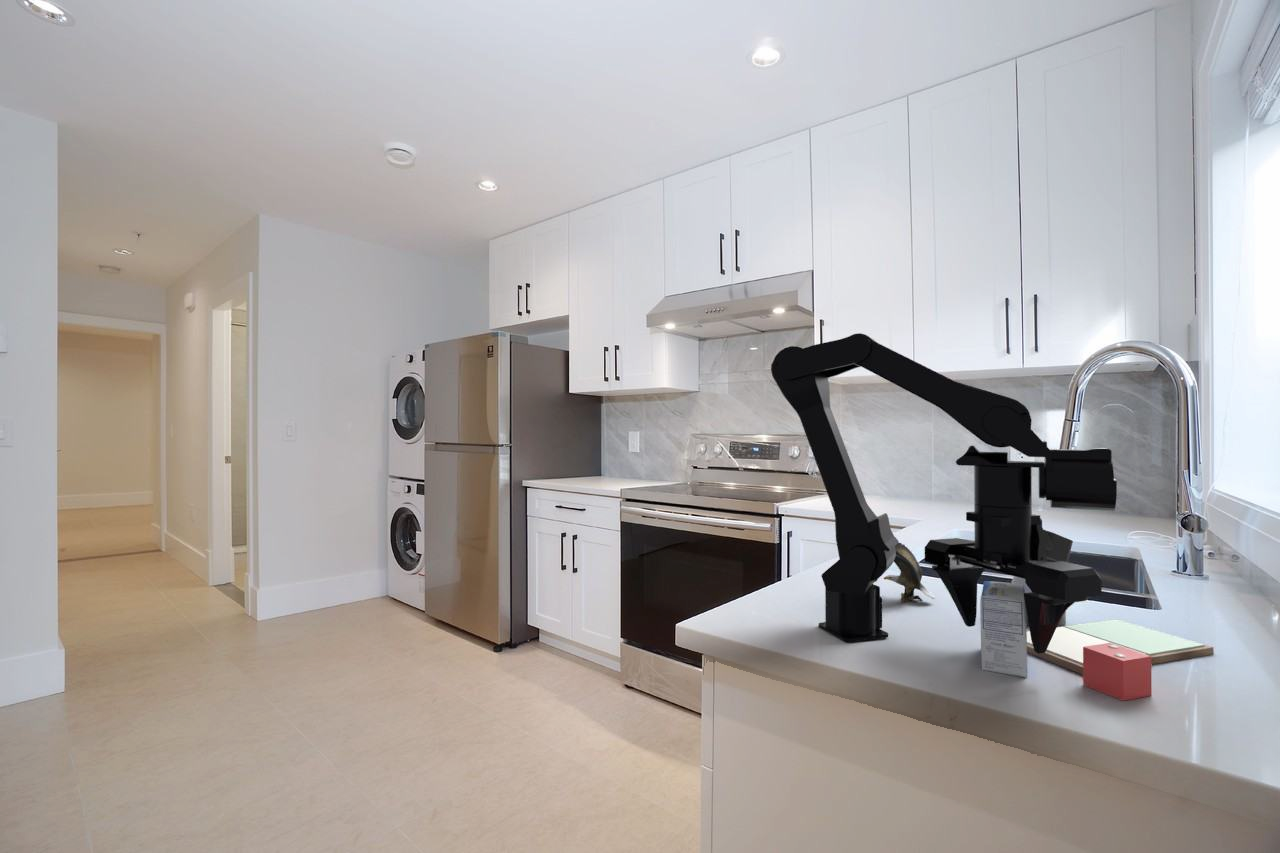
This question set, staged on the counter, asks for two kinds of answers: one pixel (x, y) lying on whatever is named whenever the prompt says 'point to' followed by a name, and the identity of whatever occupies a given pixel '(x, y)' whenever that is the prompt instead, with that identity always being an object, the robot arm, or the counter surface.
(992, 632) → the medicine box
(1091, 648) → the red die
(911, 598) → the eagle figurine
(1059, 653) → the game board
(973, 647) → the counter surface
